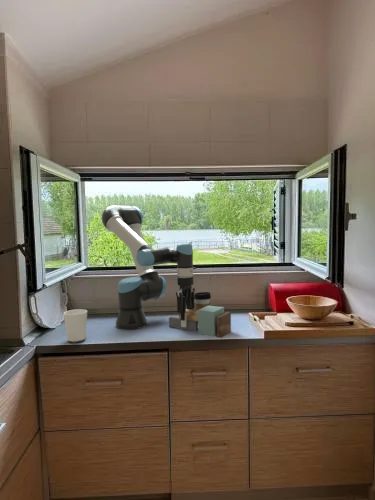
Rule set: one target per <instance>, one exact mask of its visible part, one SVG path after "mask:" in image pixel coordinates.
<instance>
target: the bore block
mask: <svg viewBox="0 0 375 500" xmlns="http://www.w3.org/2000/svg"><path fill="white" fill-rule="evenodd" d="M223 313H225V307H224V306H216V305H210V306H206V307H204V308H202V309H199V310H198V335H202V336H206V335H207V336H208V337H212V338H213V337H214V338H215V337H216V336H217V317H218V316H220V315H221V314H223Z"/></svg>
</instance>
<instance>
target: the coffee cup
mask: <svg viewBox="0 0 375 500" xmlns="http://www.w3.org/2000/svg"><path fill="white" fill-rule="evenodd" d="M211 297H212V296H211V292H210V291H202V292H201V291H200V292H194V308H195V310H199V309H202V308H204V307H206V306H211Z"/></svg>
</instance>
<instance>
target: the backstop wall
mask: <svg viewBox="0 0 375 500" xmlns="http://www.w3.org/2000/svg"><path fill="white" fill-rule="evenodd" d="M231 313H232V312H230V311H224V313H223V314H221V315H220V316H218V317H217V337H216V338H220V339H222V338H224V337H225V336H227V335H228V334H230V333H231V332H232V314H231Z"/></svg>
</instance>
